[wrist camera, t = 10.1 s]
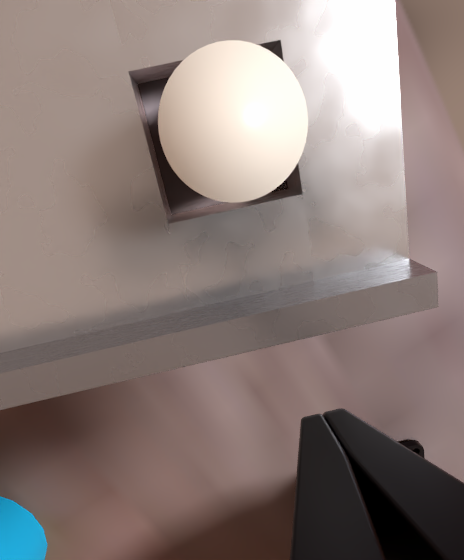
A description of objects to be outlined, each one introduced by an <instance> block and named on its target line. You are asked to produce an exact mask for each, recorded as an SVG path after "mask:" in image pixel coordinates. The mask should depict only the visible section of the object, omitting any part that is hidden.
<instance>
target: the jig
mask: <svg viewBox="0 0 464 560" xmlns="http://www.w3.org/2000/svg"><path fill="white" fill-rule="evenodd" d="M227 40H240V41H245V42H250V43H253V44H256V45H259V46H261V47H263V48H265V49H267V50H269V51H271V52H272V53H274V54H275V55H276V56H278V57H279V58H280V59H281V60H282V61H283V62H284V63H285V64H286V65H287V66H288V67H289V68H290V70H291V71H292V72H293V74H294V75H295V77H296V79H297V80H298V82H299V84H300V87H301V89H302V91H303V94H304V97H305V101H306V106H307V112H308V132H307V138H306V143H305V146H304V150H303V153H302V155H301V157H300V159H299V162H298V163H297V165H296V167H295V168H294V170H293V171H292V173H291V174H290V175H289V176H288V178H287V179H286V181H287V187H288V189H285V190H281V191H276V192H272V193H268V194H266V195H264V196H262V197H260V198H257V199H254V200H250V201H245V202H235V203H229V202H227V203H222V204H218V205H213V206H209V207H204V208H200V209H195V210H191V211H186V212H181V213H177V214H172V215H171V212H170V208H169V204H168V200H167V196H166V192H165V188H164V185H163V181H162V177H161V173H160V169H159V165H158V161H157V157H156V153H155V149H154V146H153V142H152V138H151V134H150V130H149V126H148V122H147V118H146V114H145V111H144V107H143V103H142V99H141V95H140V91H139V87H138V84H140V83H144V82H149V81H154V80H159V79H163V78H168V77H170V76H171V75H172V73H173V72H174V70H175V69H176V68H177V67H178V65H179V64H180V63H181V62H182V61H183V60H184V59H185V58H187V57H188V56H189V55H190V54H192V53H193V52H195V51H196V50H198V49H200V48H202V47H204V46H206V45H208V44H212V43H215V42H219V41H227ZM436 307H438V284H437V272H436V271H434V270H432V269H430V268H428V267H425V266H423V265H421V264H419V263H417V262H415V261H413V260H411V259H409V244H408V226H407V208H406V191H405V173H404V155H403V137H402V120H401V102H400V84H399V66H398V49H397V31H396V13H395V0H0V410H3V409H7V408H11V407H15V406H20V405H24V404H28V403H32V402H37V401H41V400H45V399H49V398H54V397H58V396H62V395H66V394H71V393H75V392H79V391H83V390H88V389H92V388H96V387H100V386H105V385H109V384H113V383H117V382H122V381H126V380H130V379H134V378H139V377H143V376H147V375H151V374H156V373H160V372H164V371H169V370H173V369H177V368H181V367H186V366H190V365H194V364H198V363H203V362H207V361H211V360H215V359H220V358H224V357H228V356H232V355H237V354H241V353H245V352H249V351H254V350H258V349H262V348H266V347H271V346H275V345H279V344H283V343H288V342H292V341H296V340H300V339H305V338H309V337H313V336H317V335H322V334H326V333H330V332H334V331H339V330H343V329H347V328H351V327H356V326H360V325H364V324H368V323H373V322H377V321H381V320H385V319H390V318H394V317H398V316H402V315H407V314H411V313H415V312H419V311H424V310H428V309H432V308H436Z"/></svg>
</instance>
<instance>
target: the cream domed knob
mask: <svg viewBox="0 0 464 560" xmlns="http://www.w3.org/2000/svg"><path fill="white" fill-rule="evenodd" d="M158 130H159V136H160V142H161V145H162V148H163V151H164V154H165V156H166V158H167V160H168V162H169V164H170V166H171V167H172V169H173V171H174V172H175V173H176V174H177V175H178V177H179V178H180V179H181V180H182V181H183V182H184V183H185V184H186V185H187V186H189V187H190V188H191V189H193V190H194V191H196V192H197V193H199V194H201V195H203V196H205V197H208V198H210V199H213V200H217V201H221V202H229V203H235V202H245V201H250V200H254V199H257V198H260V197H262V196H264V195H266V194H268V193H270V192H271V191H273V190H274V189H276V188H277V187H278V186H279V185H281V184H282V183H283V182H284V181H285V180H286V179H287V178H288V176H289V175H290V174H291V173H292V171H293V170H294V168H295V167H296V165H297V163H298V162H299V159H300V157H301V155H302V153H303V150H304V146H305V143H306V138H307V132H308V112H307V106H306V101H305V97H304V94H303V91H302V89H301V87H300V84H299V82H298V80H297V79H296V77H295V75H294V74H293V72H292V71H291V70H290V68H289V67H288V66H287V65H286V64H285V63H284V62H283V61H282V60H281V59H280V58H279V57H278V56H276V55H275V54H274V53H272V52H271V51H269V50H267V49H265V48H263V47H261V46H259V45H256V44H253V43H250V42H245V41H240V40H227V41H219V42H215V43H212V44H208V45H206V46H204V47H202V48H200V49H198V50H196V51H195V52H193V53H192V54H190V55H189V56H188V57H187V58H185V59H184V60H183V61H182V62H181V63H180V64H179V65H178V67H177V68H176V69H175V70H174V72H173V73H172V75H171V76H170V78H169V80H168V82H167V84H166V86H165V88H164V91H163V94H162V97H161V100H160V105H159V112H158Z"/></svg>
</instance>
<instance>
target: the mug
mask: <svg viewBox="0 0 464 560" xmlns="http://www.w3.org/2000/svg"><path fill="white" fill-rule="evenodd" d="M46 550H47V542H46V538H45V534H44V530H43V528H42V527H41V525H40V524H39V523H38V521H37V520H36V519H35V517H34V516H33V515H32V514H31V513H30V512H29V511H27V510H26V509H24V508H23V507H21V506H20V505H19V504H17V503H16V502H14V501H12V500H9V499H6V498H3V497H1V496H0V560H45V555H46Z"/></svg>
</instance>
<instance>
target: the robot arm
mask: <svg viewBox="0 0 464 560" xmlns="http://www.w3.org/2000/svg"><path fill="white" fill-rule="evenodd" d="M413 449H414V450H413ZM290 560H464V483H463V482H461V481H460V480H458V479H456V478H455V477H453V476H452V475H450V474H448V473H447V472H445V471H444V470H442V469H440V468H439V467H437V466H436V465H434V464H432V463H431V462H429V461H427V460H426V459H424V449H423V447H422V445H421V444H420V443H419V442H418V441H416V440H411V441H407V442H403V443H398V442H397V441H395V440H394V439H392V438H390V437H389V436H387V435H386V434H384V433H382V432H381V431H379V430H378V429H376V428H374V427H373V426H371V425H369V424H368V423H366V422H365V421H363V420H361V419H360V418H358V417H357V416H355V415H353V414H352V413H350V412H349V411H347V410H345V409H336V410H332V411H328V412H325V413H324V414H323V415H321V414H315V415H311V416H307V417H303V418H302V419H301V427H300V439H299V452H298V464H297V477H296V489H295V502H294V514H293V527H292V539H291V552H290Z"/></svg>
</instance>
